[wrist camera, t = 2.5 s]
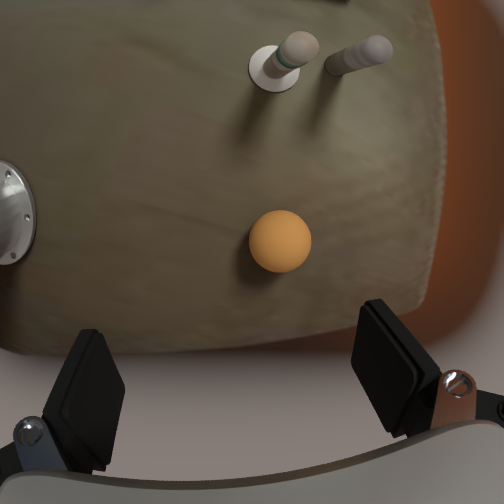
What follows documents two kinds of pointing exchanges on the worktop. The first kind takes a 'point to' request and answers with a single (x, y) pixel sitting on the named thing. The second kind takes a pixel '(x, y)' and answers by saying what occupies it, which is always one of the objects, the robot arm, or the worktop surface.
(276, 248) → the ball
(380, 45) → the grey pin
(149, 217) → the worktop surface
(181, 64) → the worktop surface
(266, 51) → the pin spot
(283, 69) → the ivory pin
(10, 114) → the worktop surface
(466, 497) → the robot arm
